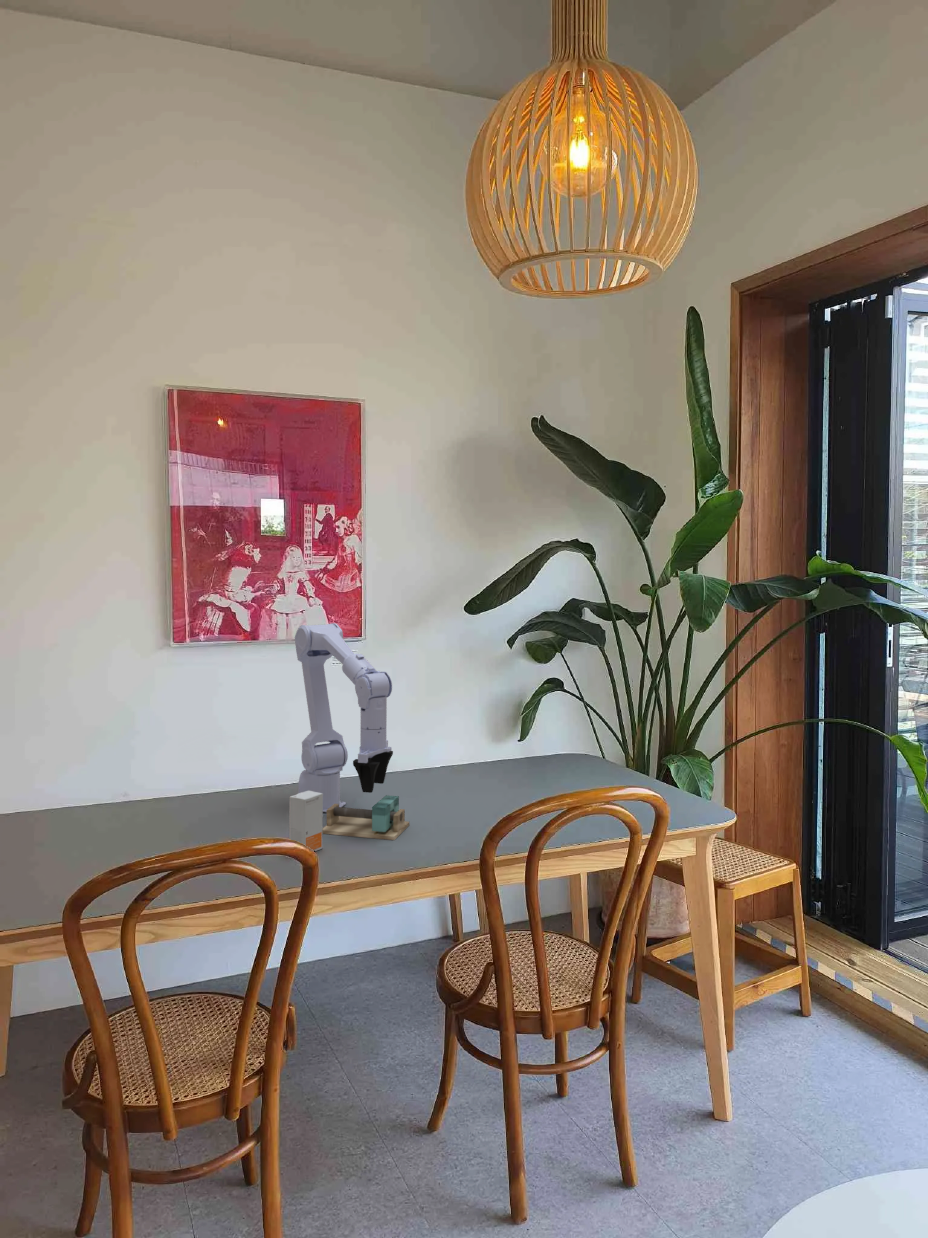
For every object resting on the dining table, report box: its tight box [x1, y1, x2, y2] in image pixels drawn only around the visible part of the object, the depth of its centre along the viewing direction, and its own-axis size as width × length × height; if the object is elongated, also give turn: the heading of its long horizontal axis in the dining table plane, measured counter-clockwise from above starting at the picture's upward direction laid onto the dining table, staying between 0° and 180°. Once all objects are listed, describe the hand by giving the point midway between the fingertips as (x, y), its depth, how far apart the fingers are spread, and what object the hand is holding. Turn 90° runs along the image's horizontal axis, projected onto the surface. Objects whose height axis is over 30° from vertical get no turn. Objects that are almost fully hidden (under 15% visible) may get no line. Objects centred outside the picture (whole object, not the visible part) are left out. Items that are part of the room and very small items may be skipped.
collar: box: [371, 794, 400, 832], centre depth 216 cm, size 3×10×5 cm, turn 166°
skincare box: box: [288, 791, 324, 852], centre depth 202 cm, size 6×4×12 cm
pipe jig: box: [322, 804, 410, 841], centre depth 217 cm, size 17×11×5 cm, turn 76°
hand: (373, 787), depth 216 cm, fingers open, 7 cm apart
